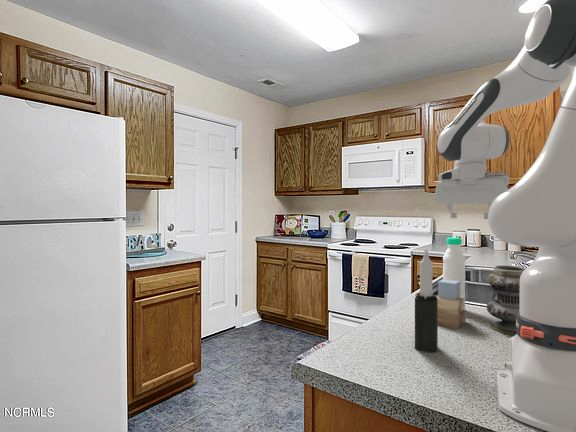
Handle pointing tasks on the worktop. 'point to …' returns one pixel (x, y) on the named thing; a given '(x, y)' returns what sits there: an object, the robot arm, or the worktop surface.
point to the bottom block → (452, 319)
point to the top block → (451, 305)
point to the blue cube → (449, 289)
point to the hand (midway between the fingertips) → (469, 218)
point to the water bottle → (455, 264)
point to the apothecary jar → (505, 297)
